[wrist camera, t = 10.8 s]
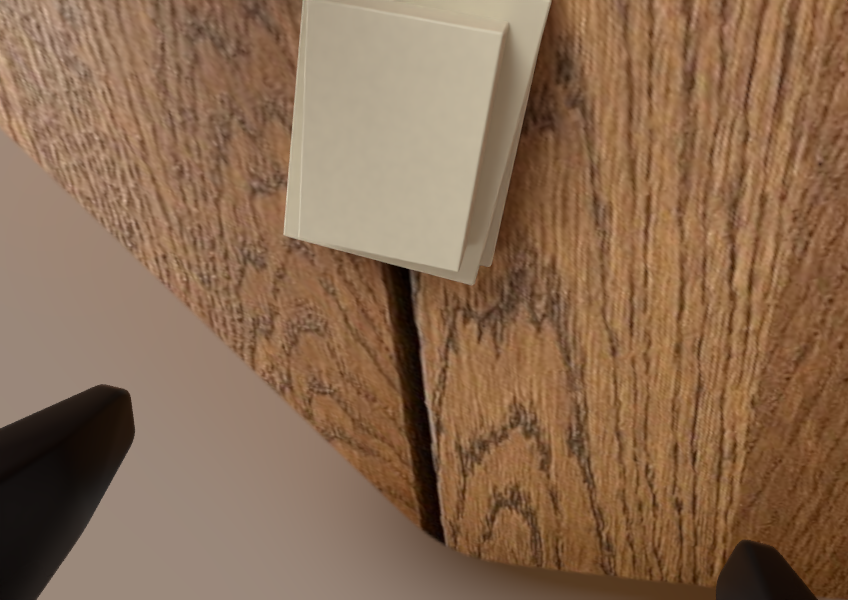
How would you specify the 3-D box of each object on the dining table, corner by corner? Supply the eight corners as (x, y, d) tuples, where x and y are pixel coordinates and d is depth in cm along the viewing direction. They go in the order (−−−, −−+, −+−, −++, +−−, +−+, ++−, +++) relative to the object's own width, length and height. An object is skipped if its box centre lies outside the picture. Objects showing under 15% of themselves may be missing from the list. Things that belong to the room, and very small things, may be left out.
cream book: (466, 247, 19) (458, 273, 18) (315, 216, 19) (297, 238, 18) (510, 21, 16) (504, 32, 14) (327, -12, 16) (306, -4, 15)
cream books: (494, 258, 21) (487, 289, 19) (305, 217, 22) (282, 245, 20) (557, -27, 17) (555, -18, 15) (317, -69, 17) (289, -64, 15)
